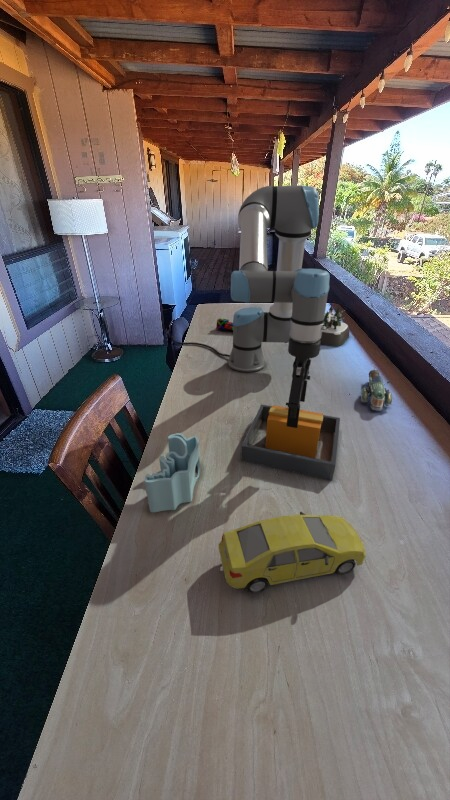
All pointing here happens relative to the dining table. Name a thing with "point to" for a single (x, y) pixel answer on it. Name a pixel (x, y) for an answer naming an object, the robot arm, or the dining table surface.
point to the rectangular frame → (286, 459)
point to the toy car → (289, 550)
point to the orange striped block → (293, 432)
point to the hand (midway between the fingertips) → (296, 412)
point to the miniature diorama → (334, 329)
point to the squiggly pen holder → (174, 474)
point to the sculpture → (224, 324)
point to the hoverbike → (376, 391)
